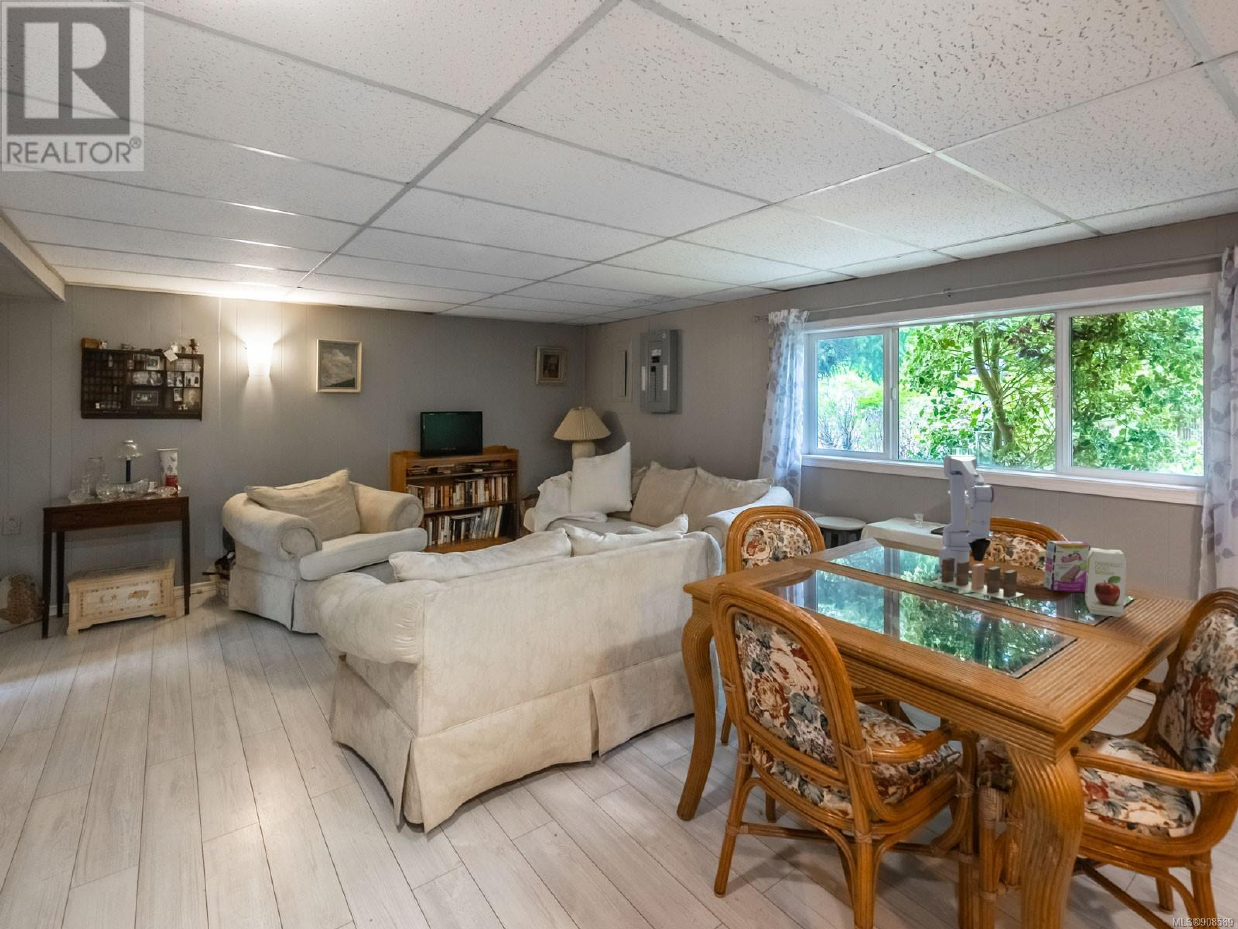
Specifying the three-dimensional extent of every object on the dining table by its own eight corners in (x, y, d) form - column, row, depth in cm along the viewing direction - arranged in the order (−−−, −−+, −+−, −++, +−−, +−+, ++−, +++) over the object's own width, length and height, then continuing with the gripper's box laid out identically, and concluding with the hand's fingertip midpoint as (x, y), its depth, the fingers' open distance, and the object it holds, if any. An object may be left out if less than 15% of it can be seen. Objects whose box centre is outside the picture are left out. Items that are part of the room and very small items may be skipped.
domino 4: (986, 592, 198) (987, 568, 197) (994, 589, 201) (995, 566, 200) (991, 593, 197) (993, 569, 196) (999, 591, 199) (1000, 567, 199)
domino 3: (971, 588, 202) (972, 565, 202) (978, 586, 205) (979, 563, 204) (976, 590, 201) (977, 566, 200) (983, 587, 204) (984, 564, 203)
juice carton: (1083, 607, 184) (1086, 546, 182) (1119, 611, 180) (1123, 549, 178) (1087, 614, 178) (1091, 551, 176) (1124, 619, 173) (1129, 554, 172)
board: (930, 583, 211) (930, 581, 211) (947, 578, 217) (947, 576, 217) (1007, 601, 190) (1008, 600, 190) (1024, 595, 196) (1024, 594, 196)
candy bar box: (1052, 592, 199) (1054, 543, 198) (1043, 587, 204) (1045, 540, 203) (1088, 592, 198) (1091, 544, 197) (1078, 588, 203) (1081, 540, 202)
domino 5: (1003, 596, 194) (1004, 572, 193) (1010, 593, 197) (1011, 569, 196) (1008, 597, 193) (1009, 573, 192) (1015, 594, 195) (1017, 570, 195)
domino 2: (956, 585, 206) (956, 562, 206) (963, 582, 209) (964, 560, 208) (960, 586, 205) (961, 563, 204) (968, 584, 208) (969, 561, 207)
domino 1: (941, 581, 211) (942, 559, 210) (949, 579, 213) (950, 557, 213) (946, 583, 209) (947, 560, 209) (953, 580, 212) (954, 558, 211)
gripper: (981, 525, 194) (979, 566, 195) (1003, 520, 202) (1001, 560, 203) (959, 521, 200) (957, 562, 201) (981, 517, 207) (979, 556, 209)
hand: (978, 560), depth 202 cm, fingers closed
